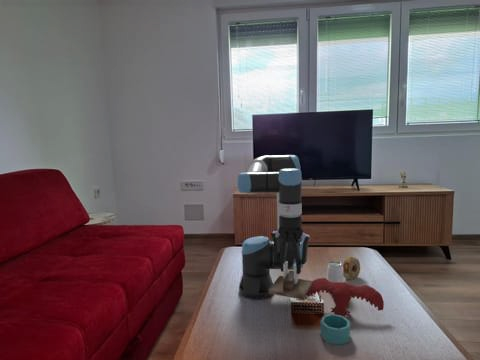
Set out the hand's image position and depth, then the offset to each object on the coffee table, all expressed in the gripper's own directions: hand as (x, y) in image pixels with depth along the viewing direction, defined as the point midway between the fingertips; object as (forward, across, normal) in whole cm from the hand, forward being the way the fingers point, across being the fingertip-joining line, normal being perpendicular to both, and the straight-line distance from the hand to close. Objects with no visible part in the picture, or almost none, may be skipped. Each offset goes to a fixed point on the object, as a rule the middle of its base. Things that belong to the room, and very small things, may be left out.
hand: (290, 281), depth 110 cm
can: (+17, +10, +32) cm, 37 cm away
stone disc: (+17, +15, +47) cm, 52 cm away
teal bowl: (+16, +15, 0) cm, 22 cm away
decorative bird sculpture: (+17, +15, +16) cm, 27 cm away
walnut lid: (+3, 0, 0) cm, 3 cm away
